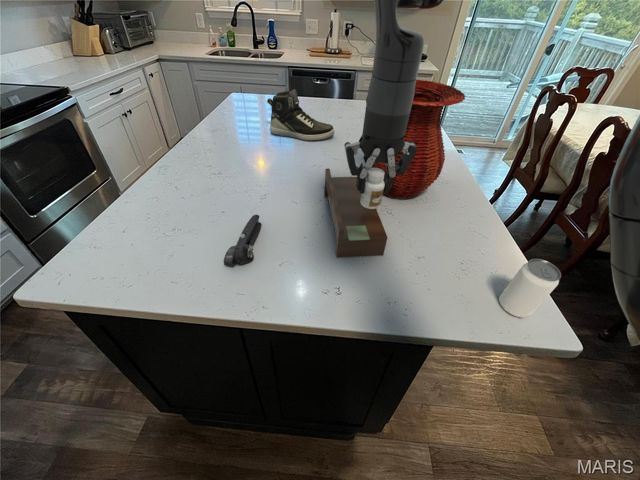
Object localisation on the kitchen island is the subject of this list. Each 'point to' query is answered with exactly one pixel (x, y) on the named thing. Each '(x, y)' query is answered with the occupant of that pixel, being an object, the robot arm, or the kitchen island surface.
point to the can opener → (244, 244)
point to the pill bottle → (373, 189)
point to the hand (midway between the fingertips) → (372, 190)
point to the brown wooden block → (353, 219)
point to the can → (529, 287)
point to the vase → (423, 138)
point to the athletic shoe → (295, 119)
